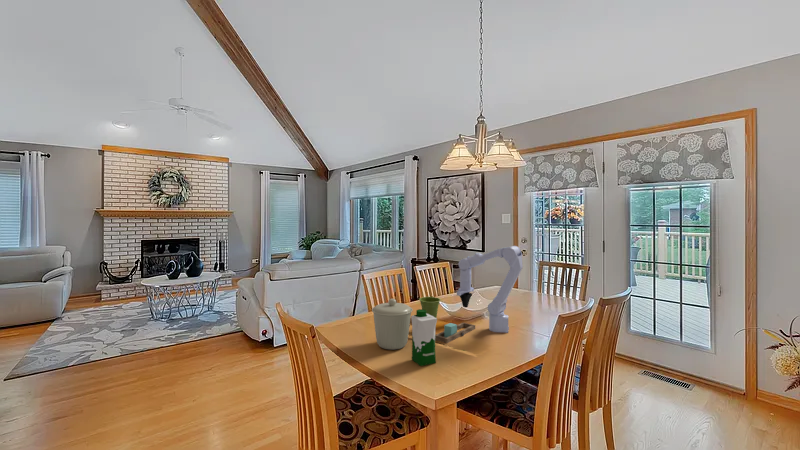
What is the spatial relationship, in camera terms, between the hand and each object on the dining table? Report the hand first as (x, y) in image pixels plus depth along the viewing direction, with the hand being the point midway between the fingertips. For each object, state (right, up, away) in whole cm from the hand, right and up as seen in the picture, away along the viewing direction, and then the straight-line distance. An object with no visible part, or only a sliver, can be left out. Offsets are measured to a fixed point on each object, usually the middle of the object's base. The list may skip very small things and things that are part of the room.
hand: (465, 306), depth 191 cm
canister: (-38, -11, -29) cm, 49 cm away
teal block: (-10, -10, -20) cm, 24 cm away
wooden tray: (-8, -11, -16) cm, 21 cm away
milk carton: (-25, -12, -46) cm, 53 cm away
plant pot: (-18, -10, +11) cm, 23 cm away
